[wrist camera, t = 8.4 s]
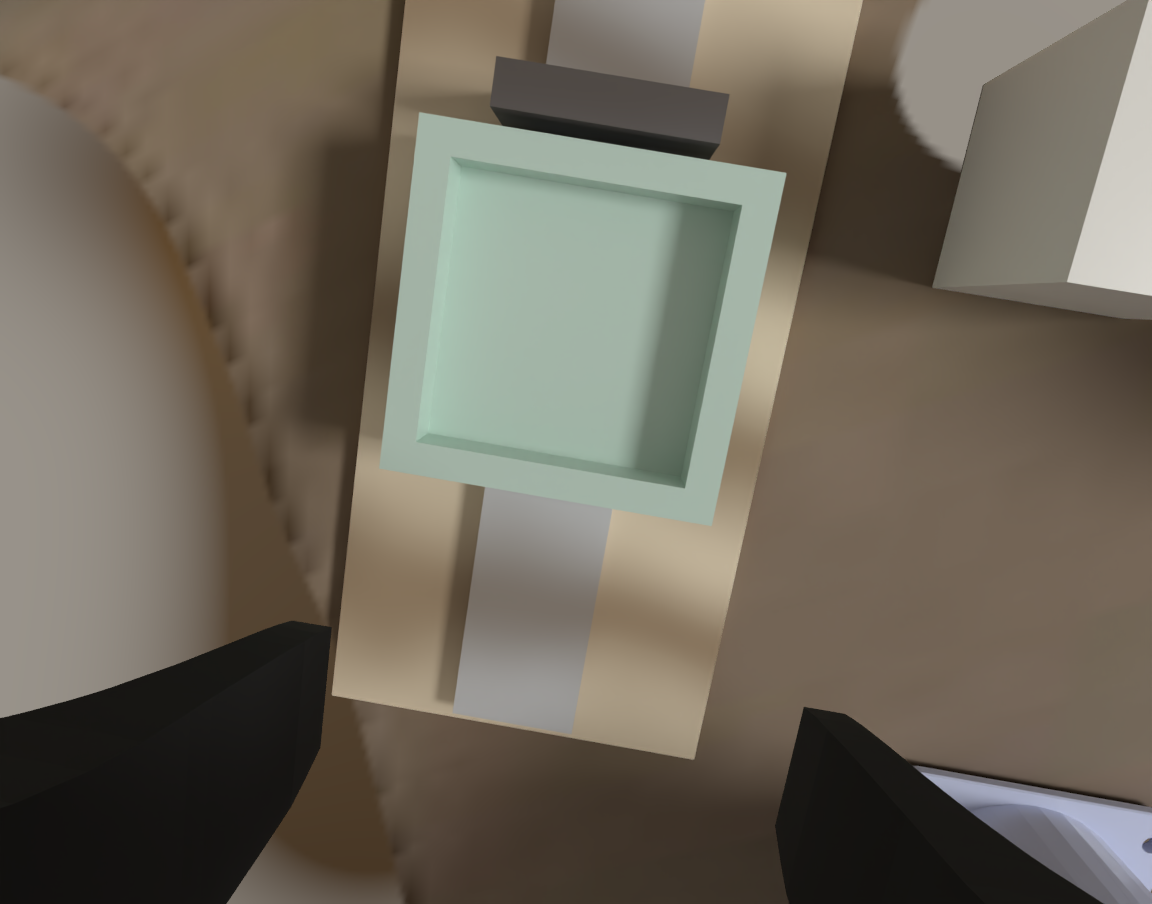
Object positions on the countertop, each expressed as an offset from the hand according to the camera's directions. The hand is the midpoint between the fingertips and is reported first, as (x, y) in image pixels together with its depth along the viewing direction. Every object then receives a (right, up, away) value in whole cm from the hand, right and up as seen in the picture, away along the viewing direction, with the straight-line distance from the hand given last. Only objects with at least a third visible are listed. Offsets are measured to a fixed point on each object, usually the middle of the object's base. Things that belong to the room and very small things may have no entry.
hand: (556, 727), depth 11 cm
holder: (0, +7, +8) cm, 11 cm away
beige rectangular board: (0, +6, +9) cm, 11 cm away
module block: (+13, +10, +8) cm, 18 cm away
